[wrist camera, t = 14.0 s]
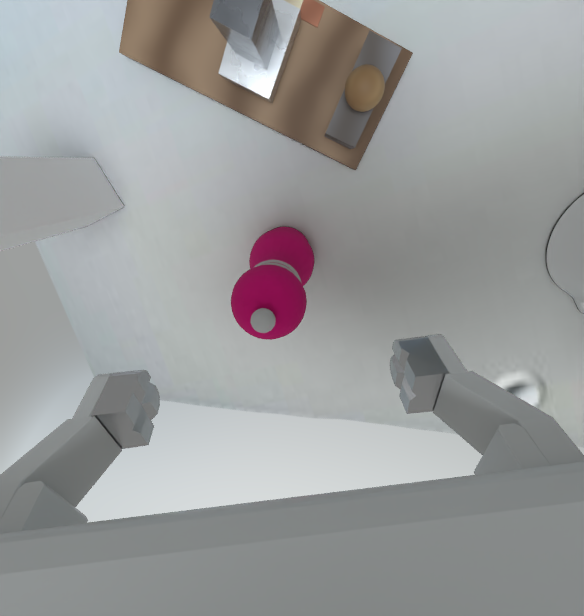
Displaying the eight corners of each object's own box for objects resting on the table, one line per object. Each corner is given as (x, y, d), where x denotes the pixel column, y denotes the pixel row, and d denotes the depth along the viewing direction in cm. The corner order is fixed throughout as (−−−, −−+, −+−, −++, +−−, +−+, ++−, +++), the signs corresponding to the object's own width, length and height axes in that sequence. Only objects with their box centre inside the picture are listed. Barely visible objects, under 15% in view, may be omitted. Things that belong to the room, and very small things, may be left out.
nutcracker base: (408, 57, 31) (442, 20, 23) (354, 169, 36) (366, 172, 27) (151, -85, 28) (84, -188, 20) (127, 56, 33) (63, 20, 24)
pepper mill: (245, 240, 40) (188, 307, 22) (295, 210, 38) (278, 256, 20) (275, 288, 42) (246, 384, 24) (324, 262, 40) (332, 344, 22)
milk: (94, 157, 37) (-164, 153, 17) (125, 206, 39) (-72, 254, 19) (55, 179, 38) (-226, 200, 18) (87, 226, 40) (-134, 290, 20)
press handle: (306, 6, 29) (302, -70, 19) (272, 103, 32) (254, 79, 23) (254, -23, 28) (224, -116, 19) (225, 79, 32) (186, 44, 22)
